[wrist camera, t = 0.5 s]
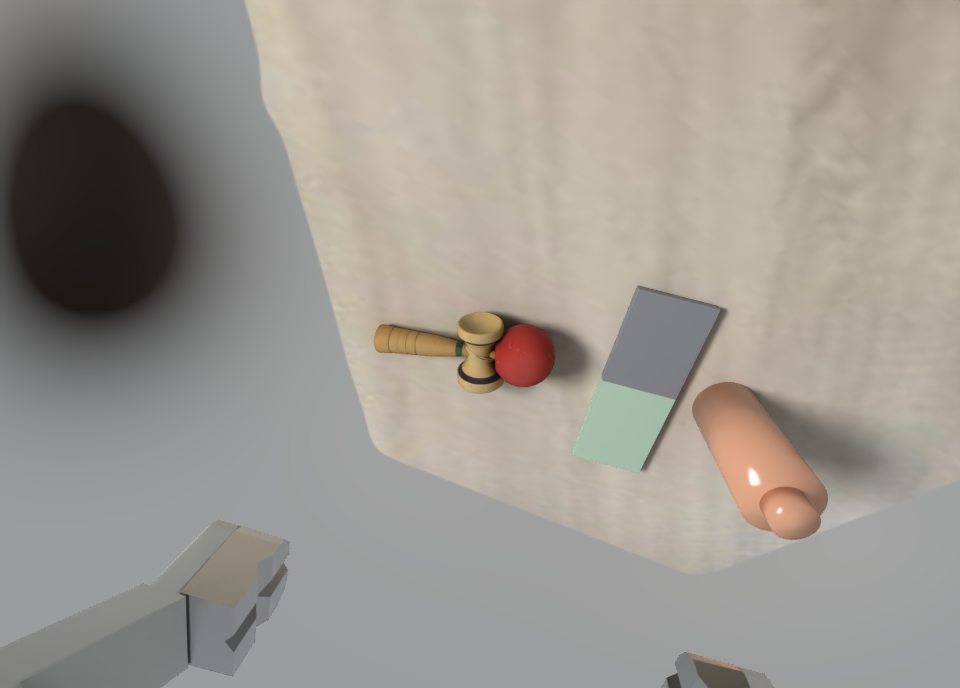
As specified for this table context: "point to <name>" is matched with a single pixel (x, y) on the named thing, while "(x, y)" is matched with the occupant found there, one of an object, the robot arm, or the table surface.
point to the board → (643, 377)
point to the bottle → (759, 463)
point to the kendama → (480, 351)
